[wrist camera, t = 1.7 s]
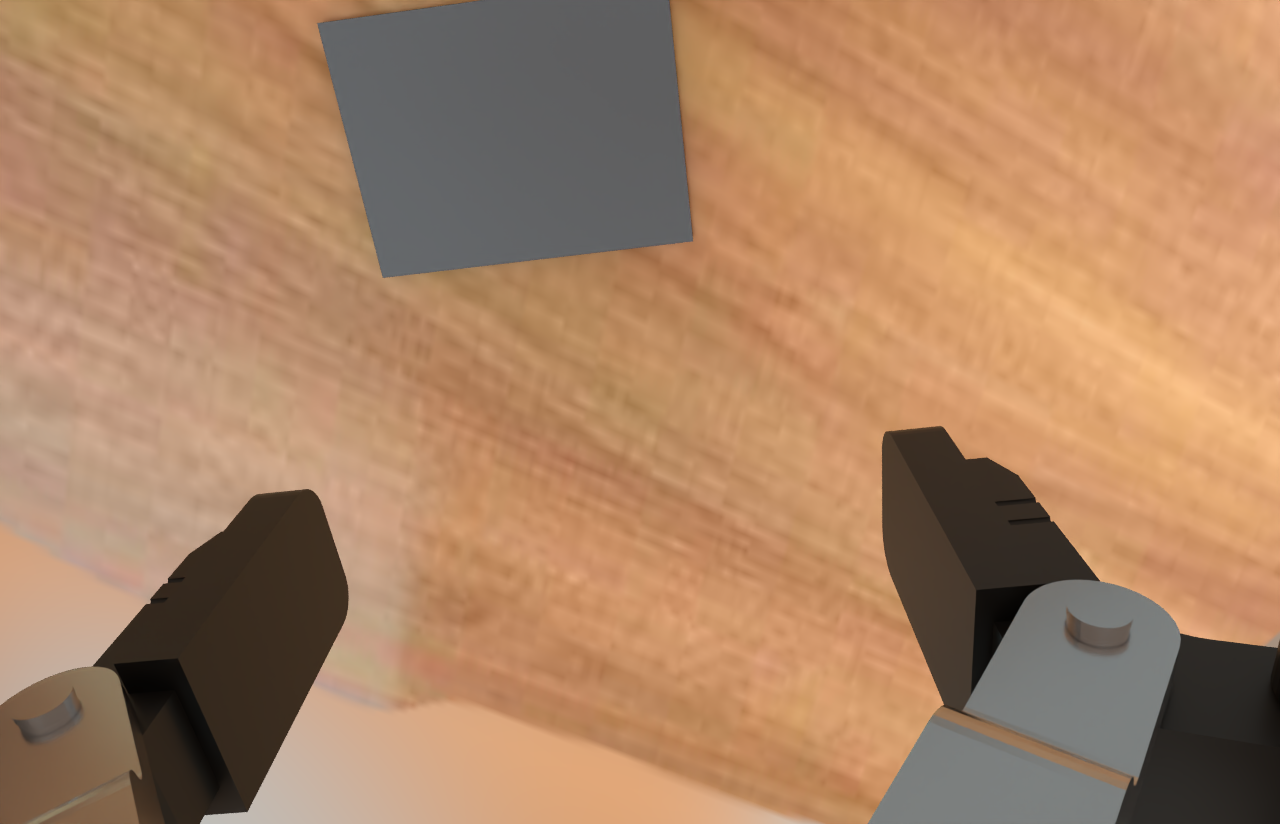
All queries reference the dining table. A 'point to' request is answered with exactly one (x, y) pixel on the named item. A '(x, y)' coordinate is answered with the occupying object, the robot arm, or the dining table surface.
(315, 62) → the dining table surface
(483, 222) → the charcoal mat
